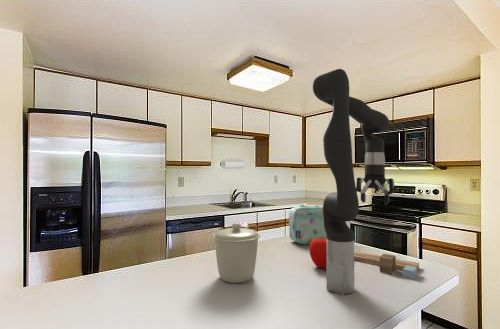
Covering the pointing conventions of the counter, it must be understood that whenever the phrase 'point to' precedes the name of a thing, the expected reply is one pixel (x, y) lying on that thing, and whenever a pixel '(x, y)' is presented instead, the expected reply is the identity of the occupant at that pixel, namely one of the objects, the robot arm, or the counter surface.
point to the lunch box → (306, 223)
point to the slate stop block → (410, 272)
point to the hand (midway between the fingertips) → (374, 203)
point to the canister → (236, 253)
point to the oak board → (376, 260)
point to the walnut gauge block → (387, 263)
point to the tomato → (319, 252)
